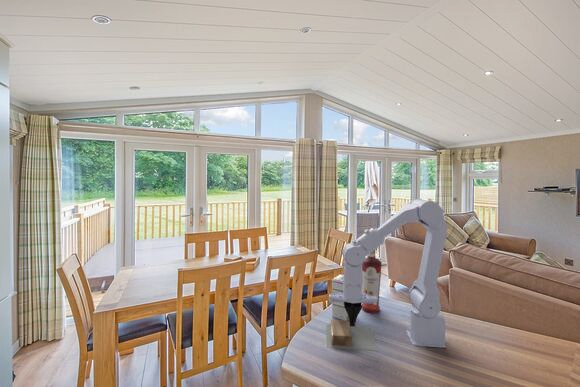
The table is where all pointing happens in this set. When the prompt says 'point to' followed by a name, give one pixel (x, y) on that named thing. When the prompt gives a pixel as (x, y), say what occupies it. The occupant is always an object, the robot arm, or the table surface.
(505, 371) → the table surface
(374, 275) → the liquor
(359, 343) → the mat
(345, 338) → the slab
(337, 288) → the syrup box
